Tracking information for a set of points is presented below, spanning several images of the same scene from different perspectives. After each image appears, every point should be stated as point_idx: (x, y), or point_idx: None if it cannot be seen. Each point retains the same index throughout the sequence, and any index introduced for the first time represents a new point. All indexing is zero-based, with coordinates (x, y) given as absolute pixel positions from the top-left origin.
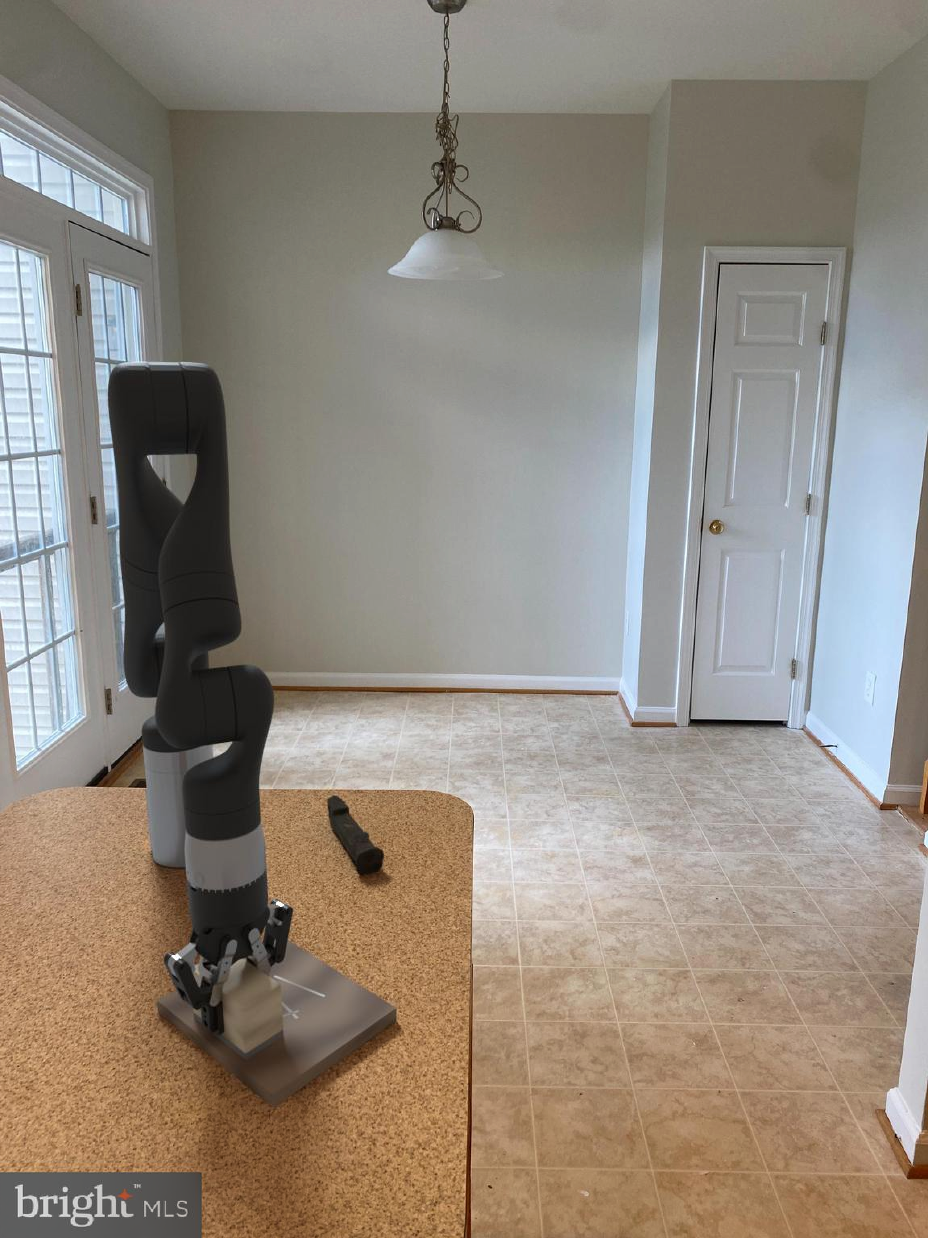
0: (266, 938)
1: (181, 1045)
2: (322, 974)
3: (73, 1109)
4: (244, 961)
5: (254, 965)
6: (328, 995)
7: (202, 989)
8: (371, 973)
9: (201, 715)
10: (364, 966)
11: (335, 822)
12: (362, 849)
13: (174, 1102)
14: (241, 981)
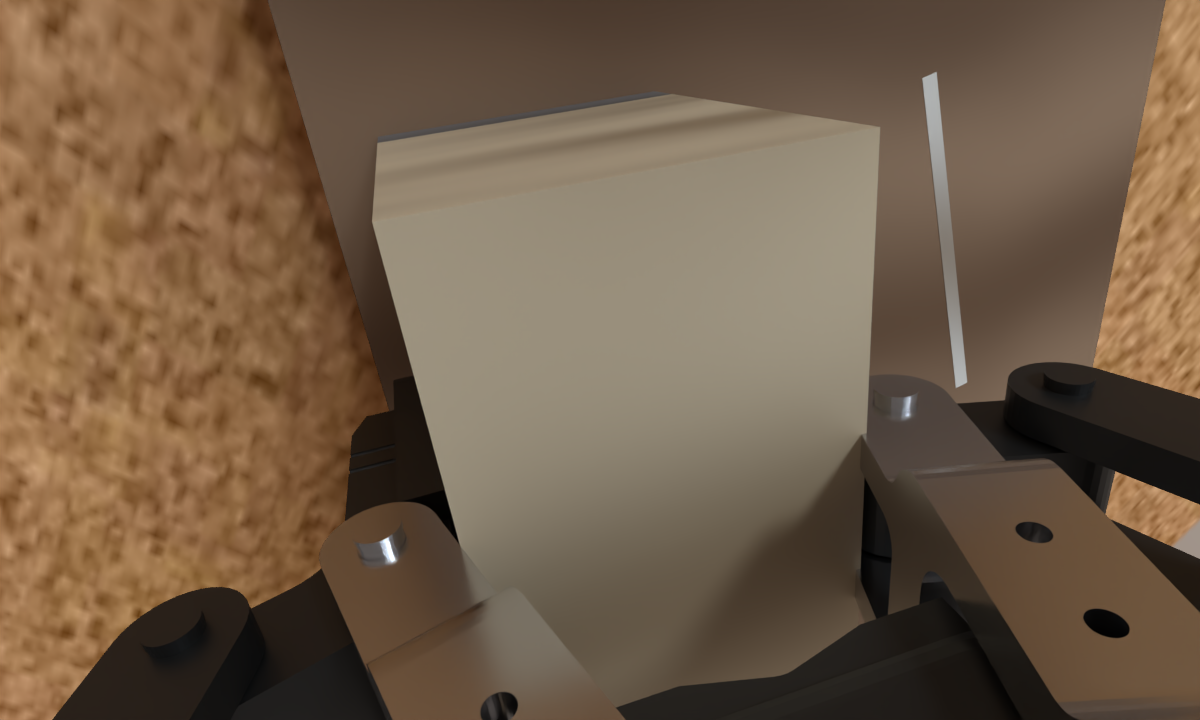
0: (1173, 491)
1: (268, 188)
2: (1065, 234)
3: None
4: (852, 441)
5: (872, 498)
6: (974, 389)
7: (353, 692)
8: (1163, 269)
9: None
10: (1187, 209)
11: None
12: None
13: (129, 545)
14: (688, 660)
